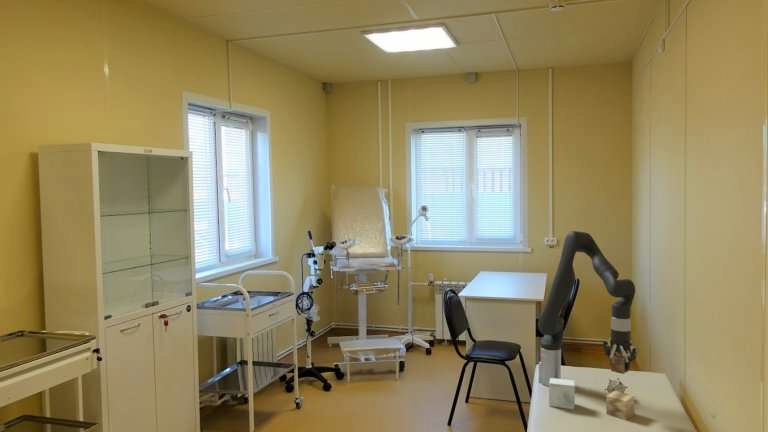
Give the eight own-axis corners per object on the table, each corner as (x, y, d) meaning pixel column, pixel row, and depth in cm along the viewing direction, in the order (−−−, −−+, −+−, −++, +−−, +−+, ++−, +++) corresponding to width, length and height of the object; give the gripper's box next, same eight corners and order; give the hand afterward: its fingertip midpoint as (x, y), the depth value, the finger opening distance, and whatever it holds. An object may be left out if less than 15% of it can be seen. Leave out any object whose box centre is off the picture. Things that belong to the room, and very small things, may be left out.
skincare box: (548, 406, 237) (548, 382, 236) (549, 400, 243) (549, 377, 242) (574, 409, 233) (574, 385, 233) (574, 403, 239) (575, 380, 239)
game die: (620, 406, 245) (630, 394, 238) (601, 398, 246) (611, 386, 240) (620, 390, 251) (631, 378, 245) (602, 383, 253) (612, 370, 247)
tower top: (606, 405, 229) (606, 395, 228) (615, 399, 234) (615, 390, 234) (625, 410, 223) (625, 401, 222) (634, 405, 228) (634, 395, 228)
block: (611, 370, 227) (611, 356, 227) (616, 368, 231) (617, 353, 230) (623, 374, 224) (623, 359, 223) (628, 371, 227) (628, 356, 227)
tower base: (606, 414, 229) (606, 405, 228) (615, 409, 234) (615, 399, 234) (625, 420, 223) (625, 411, 222) (634, 414, 228) (634, 405, 228)
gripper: (599, 326, 229) (598, 366, 230) (634, 333, 218) (633, 375, 219) (608, 323, 234) (607, 362, 235) (642, 329, 223) (641, 370, 224)
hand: (620, 368), depth 227 cm, fingers closed on block, 5 cm apart
